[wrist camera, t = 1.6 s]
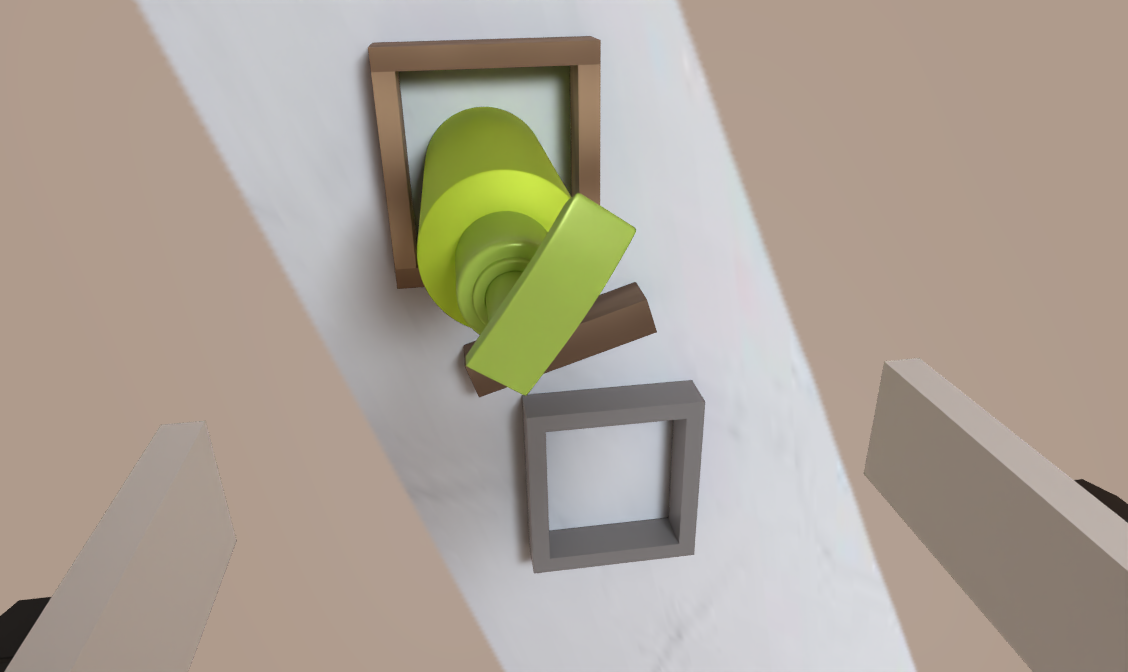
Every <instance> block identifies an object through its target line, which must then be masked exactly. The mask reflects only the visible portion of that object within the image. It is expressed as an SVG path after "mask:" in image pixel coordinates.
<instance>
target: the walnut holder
mask: <svg viewBox="0 0 1128 672" xmlns="http://www.w3.org/2000/svg"><path fill="white" fill-rule="evenodd" d="M368 52H369V60H370V68H371V76H372V84H373V93H374V101H375V109H376V117H377V125H378V134H379V142H380V150H381V158H382V166H383V175H384V183H385V191H386V199H387V207H388V216H389V224H390V232H391V240H392V248H393V257H394V265H395V273H396V281H397V289H402V288H416V287H425V286H424V284H423V281H422V279H421V276H420V272H419V268H418V262H417V240H416V231H415V222H414V212H413V203H412V194H411V184H410V175H409V165H408V156H407V147H406V137H405V128H404V119H403V109H402V100H401V91H400V81H399V72H398V71H423V70H452V69H481V68H509V67H538V66H567V65H570V117H571V190H572V197H573V196H574V195H575V194H577V193H580V194H582V195H584V196H585V197H587V198H589V199H590V200H592V201H593V202H595V203H597V204H598V205H600V40H599V39H596V38H594V37H591V36H580V37H547V38H513V39H480V40H447V41H414V42H381V43H372V44H371V45H370V46H369V47H368Z"/></svg>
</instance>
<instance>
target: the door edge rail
mask: <svg viewBox="0 0 1128 672" xmlns="http://www.w3.org/2000/svg"><path fill="white" fill-rule="evenodd" d="M656 332H657V331H656V328H655V324H654V321H653V318H652V315H651V311H650V308H649V305H648V302H647V299H646V297H645V296H644V294H643V293H642V291H641V290H640V288H639V286H638V285H637V283H636V282H634V283H632V284H629V285H626V286H623V287H621V288H618V289H615V290H613V291H610V292H607V293H604V294H602V295H599V296H598V298H597V299H596V301H595V302H594V304H593V305H592V307H591V308H590V310H589V311H588V313H587V314H586V316H585V317H584V319H583V320H582V322H581V323H580V324H579V326H578V327H577V329H576V330H575V332H574V333H573V334H572V336H571V337H570V338H569V340H568V341H567V343H566V344H565V345H564V347H563V348H562V349H561V351H560V352H559V353H558V355H557V356H556V357H555V359H554V360H553V361H552V363H551V364H550V365H549V367H548V368H547V369H546V371H545V372H544V373H547V372H550V371H552V370H555V369H558V368H561V367H563V366H566V365H569V364H571V363H574V362H577V361H580V360H582V359H585V358H588V357H590V356H593V355H596V354H599V353H601V352H604V351H607V350H610V349H612V348H615V347H618V346H620V345H623V344H626V343H629V342H631V341H634V340H637V339H639V338H642V337H645V336H648V335H650V334H653V333H656ZM475 342H476V341H474V342H472V343H469V344H466V345H464V358H465V368H466V370H467V372H468V374H469V376H470V379H471V381H472V383H473V385H474V387H475V389H476V392H477V394H478V396H479V397H482V396H484V395H487V394H490V393H493V392H495V391H498V390H501V389H503V388H506V387H507V386H505V385H503V384H501V383H499V382H497V381H495V380H493V379H491V378H489V377H487V376H485V375H483V374H481V373H479V372H477V371H475V370H473V369H471V368H469V367H467V366H466V355H467V354H468V352H469V351H470V349H471V348H472V346H473V345H474V343H475ZM544 373H543V374H544Z"/></svg>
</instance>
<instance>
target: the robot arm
mask: <svg viewBox="0 0 1128 672" xmlns="http://www.w3.org/2000/svg"><path fill="white" fill-rule="evenodd" d="M864 475H865V476H866V477H867V478H868V479H869V481H870V482H871V483H872V484H873V485H874V486H875V488H876V489H877V490H878V491H879V492H880V493H881V495H882V496H883V497H884V498H885V499H886V500H887V502H888V503H889V504H890V505H891V506H892V507H893V508H894V510H895V511H896V512H897V513H898V514H899V516H900V517H901V518H902V519H903V520H904V522H905V523H906V524H907V525H908V526H909V527H910V528H911V529H912V531H913V532H914V533H915V534H916V536H917V537H918V538H919V539H920V540H921V541H922V543H923V544H924V545H925V546H926V547H927V548H928V550H929V551H930V552H931V553H932V554H933V555H934V556H935V558H936V559H937V560H938V561H939V562H940V564H941V565H942V566H943V567H944V568H945V569H946V571H947V572H948V573H949V574H950V575H951V577H952V578H953V579H954V580H955V581H956V582H957V584H958V585H959V586H960V587H961V588H962V589H963V591H964V592H965V593H966V594H967V595H968V596H969V597H970V599H971V600H972V601H973V602H974V603H975V605H976V606H977V607H978V608H979V609H980V610H981V612H982V613H983V614H984V615H985V616H986V617H987V619H988V620H989V621H990V622H991V623H992V624H993V626H994V627H995V628H996V629H997V630H998V632H999V633H1000V634H1001V635H1002V636H1003V637H1004V638H1005V640H1006V641H1007V642H1008V643H1009V644H1010V646H1011V647H1012V648H1013V649H1014V650H1015V651H1016V653H1017V654H1018V655H1019V656H1020V657H1021V658H1022V660H1023V661H1024V662H1025V663H1026V664H1027V665H1028V667H1029V668H1030V669H1031V670H1032V671H1033V672H1128V504H1127V503H1126V502H1124V501H1123V500H1122V499H1120V498H1119V497H1117V496H1116V495H1114V494H1112V493H1109V492H1107V491H1105V490H1103V489H1101V488H1099V487H1097V486H1095V485H1093V484H1091V483H1089V482H1087V481H1085V480H1083V479H1080V480H1073V479H1071V478H1070V477H1069V476H1068V475H1066V474H1065V473H1064V472H1063V471H1061V470H1060V469H1058V467H1056V466H1055V465H1054V464H1052V463H1051V462H1050V461H1049V460H1047V459H1046V458H1045V457H1043V456H1042V455H1041V454H1040V453H1039V452H1037V451H1036V450H1035V449H1033V448H1032V447H1031V446H1030V445H1029V444H1027V443H1026V442H1025V441H1023V440H1022V439H1021V438H1020V437H1018V436H1017V435H1016V434H1014V433H1013V432H1012V431H1011V430H1009V429H1008V428H1007V427H1006V426H1004V425H1003V424H1002V423H1001V422H999V421H998V420H997V419H996V418H994V417H993V416H992V415H991V414H989V413H988V412H987V411H986V410H984V409H983V408H982V407H980V406H979V405H978V404H977V403H975V402H974V401H973V400H972V399H970V398H969V397H968V396H967V395H965V394H964V393H963V392H961V391H960V390H959V389H957V388H956V387H955V386H954V385H952V384H951V383H950V382H949V381H948V380H946V379H945V378H944V377H943V376H941V375H940V374H939V373H937V372H936V371H935V370H934V369H932V368H931V367H930V366H928V365H927V364H926V363H925V362H924V361H922V360H921V359H919V358H917V359H906V360H894V361H884V366H883V372H882V376H881V382H880V387H879V393H878V398H877V404H876V409H875V415H874V420H873V426H872V431H871V437H870V442H869V448H868V453H867V458H866V464H865V470H864ZM236 541H237V540H236V537H235V533H234V529H233V525H232V522H231V518H230V514H229V510H228V506H227V502H226V498H225V495H224V490H223V486H222V483H221V479H220V475H219V471H218V467H217V464H216V459H215V455H214V452H213V448H212V444H211V440H210V436H209V432H208V428H207V425H206V421H199V422H188V423H177V424H165V425H161V426H160V427H159V429H158V430H157V432H156V434H155V435H154V437H153V438H152V440H151V441H150V443H149V445H148V446H147V448H146V449H145V451H144V453H143V454H142V456H141V457H140V459H139V460H138V462H137V463H136V465H135V467H134V468H133V470H132V471H131V473H130V475H129V476H128V478H127V479H126V481H125V482H124V484H123V486H122V487H121V489H120V490H119V492H118V493H117V495H116V497H115V498H114V500H113V501H112V503H111V505H110V506H109V508H108V509H107V511H106V512H105V514H104V516H103V517H102V519H101V520H100V522H99V523H98V525H97V526H96V528H95V530H94V531H93V533H92V534H91V536H90V538H89V539H88V541H87V542H86V544H85V545H84V547H83V549H82V550H81V552H80V553H79V555H78V556H77V558H76V560H75V561H74V563H73V564H72V566H71V567H70V569H69V571H68V572H67V574H66V576H65V577H64V579H63V580H62V582H61V583H60V585H59V586H58V588H57V589H56V591H55V593H54V594H53V596H52V597H46V598H38V599H29V600H19V601H18V602H17V603H15V604H14V605H13V606H12V607H11V608H9V609H8V610H7V611H6V612H5V613H3V614H2V615H1V616H0V672H188V671H189V669H190V666H191V663H192V660H193V658H194V655H195V652H196V650H197V646H198V644H199V641H200V639H201V636H202V633H203V631H204V628H205V625H206V622H207V620H208V617H209V614H210V612H211V609H212V606H213V603H214V601H215V598H216V595H217V593H218V590H219V587H220V584H221V581H222V579H223V576H224V574H225V571H226V568H227V565H228V563H229V560H230V557H231V554H232V552H233V549H234V546H235V543H236Z"/></svg>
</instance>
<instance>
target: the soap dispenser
mask: <svg viewBox="0 0 1128 672" xmlns="http://www.w3.org/2000/svg"><path fill="white" fill-rule="evenodd" d="M635 232H636V229H635V228H634V227H633V226H631V225H630V224H628V223H627V222H625V221H624V220H622V219H620V218H619V217H617V216H616V215H614V214H613V213H611V212H609V211H608V210H606V209H605V208H603V207H601V206H600V205H598V204H597V203H595V202H593V201H592V200H590V199H589V198H587V197H585V196H584V195H582V194H580V193H577V194H575V195H574V196H573V197H572V198H571V196H570V194H569V192H568V191H567V189H566V187H565V186H564V184H563V182H562V180H561V179H560V177H559V175H558V174H557V172H556V170H555V168H554V167H553V165H552V163H551V162H550V160H549V158H548V156H547V155H546V153H545V151H544V150H543V148H542V146H541V144H540V143H539V141H538V139H537V137H536V136H535V134H534V133H533V131H532V130H531V129H530V128H529V127H528V125H527V124H525V123H524V122H523V121H522V120H521V119H519V118H518V117H517V116H515V115H513V114H511V113H509V112H507V111H504V110H501V109H498V108H492V107H475V108H470V109H466V110H463V111H461V112H459V113H457V114H455V115H453V116H451V117H450V118H449V119H447V120H446V121H445V122H444V123H443V124H442V125H441V126H440V127H439V128H438V129H437V131H436V132H435V133H434V135H433V137H432V138H431V140H430V143H429V145H428V148H427V152H426V157H425V166H424V177H423V188H422V199H421V209H420V220H419V231H418V242H417V262H418V268H419V272H420V276H421V279H422V281H423V284H424V286H425V288H426V290H427V292H428V293H429V295H430V296H431V298H432V299H433V300H434V302H435V303H436V304H437V305H438V306H439V307H440V308H441V309H442V310H443V311H444V312H445V313H446V314H447V315H449V316H450V317H451V318H453V319H454V320H456V321H458V322H459V323H461V324H463V325H466V326H468V327H470V328H472V329H473V330H474V331H475V332H476V333H478V334H479V335H480V336H479V337H478V339H477V340H476V342H475V343H474V345H473V346H472V348H471V349H470V351H469V352H468V354H467V355H466V366H467V367H469V368H471V369H473V370H475V371H477V372H479V373H481V374H483V375H485V376H487V377H489V378H491V379H493V380H495V381H497V382H499V383H501V384H503V385H505V386H507V387H509V388H511V389H513V390H515V391H517V392H519V393H521V394H523V395H525V396H526V395H527V394H528V393H529V392H530V390H531V389H532V388H533V386H534V385H535V384H536V383H537V381H538V380H539V379H540V377H541V376H542V375H543V373H544V372H545V371H546V369H547V368H548V367H549V365H550V364H551V363H552V361H553V360H554V359H555V357H556V356H557V355H558V353H559V352H560V351H561V349H562V348H563V347H564V345H565V344H566V343H567V341H568V340H569V338H570V337H571V336H572V334H573V333H574V332H575V330H576V329H577V327H578V326H579V324H580V323H581V322H582V320H583V319H584V317H585V316H586V314H587V313H588V311H589V310H590V308H591V307H592V305H593V304H594V302H595V301H596V299H597V298H598V296H599V295H600V293H601V291H602V290H603V288H604V287H605V285H606V283H607V282H608V280H609V278H610V277H611V275H612V273H613V272H614V270H615V268H616V266H617V265H618V263H619V261H620V260H621V258H622V256H623V254H624V253H625V251H626V249H627V247H628V245H629V244H630V242H631V240H632V238H633V236H634V234H635Z"/></svg>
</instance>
